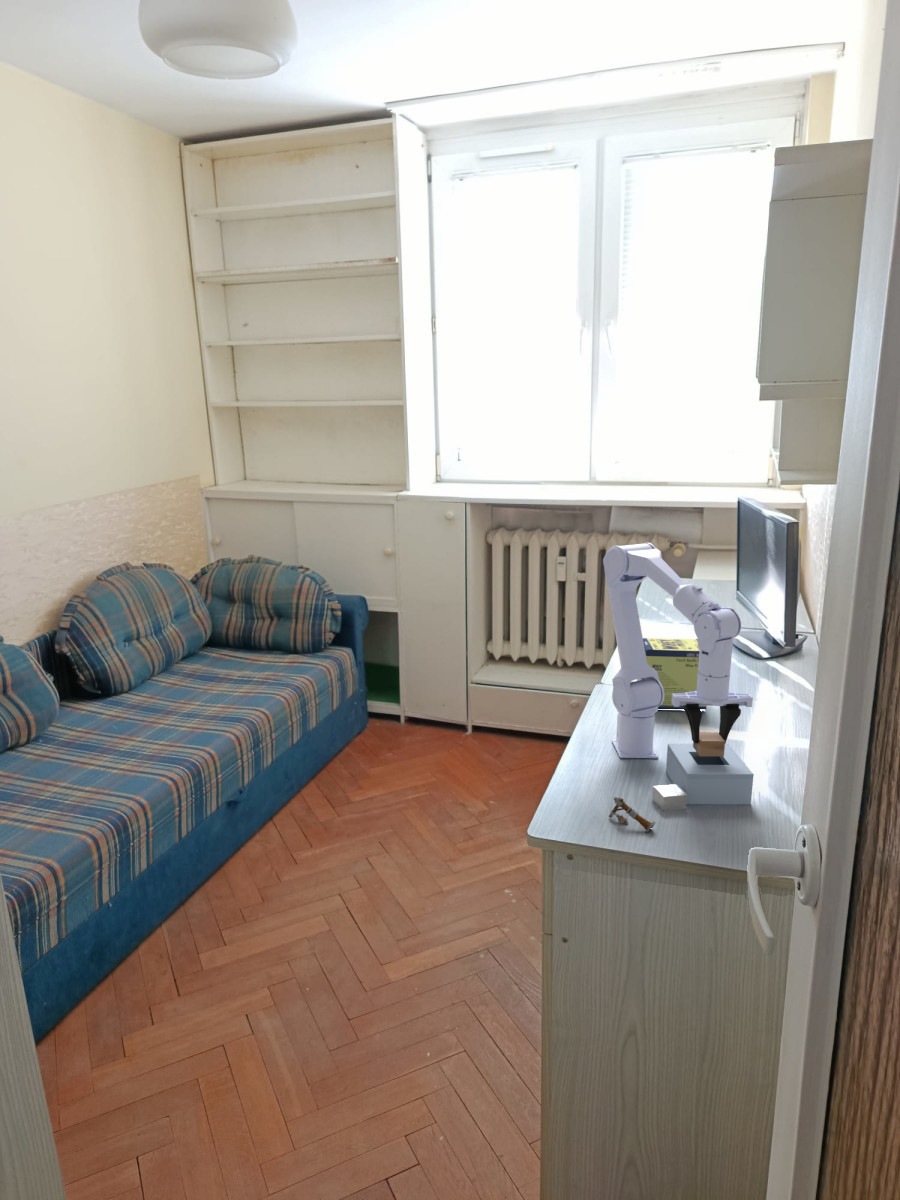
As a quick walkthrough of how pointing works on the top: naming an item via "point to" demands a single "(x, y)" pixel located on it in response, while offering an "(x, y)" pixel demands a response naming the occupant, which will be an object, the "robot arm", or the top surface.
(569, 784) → the top surface
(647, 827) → the wooden post with brackets
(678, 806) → the white square block
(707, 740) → the brown wooden block
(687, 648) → the protein box
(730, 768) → the grey box with hole
